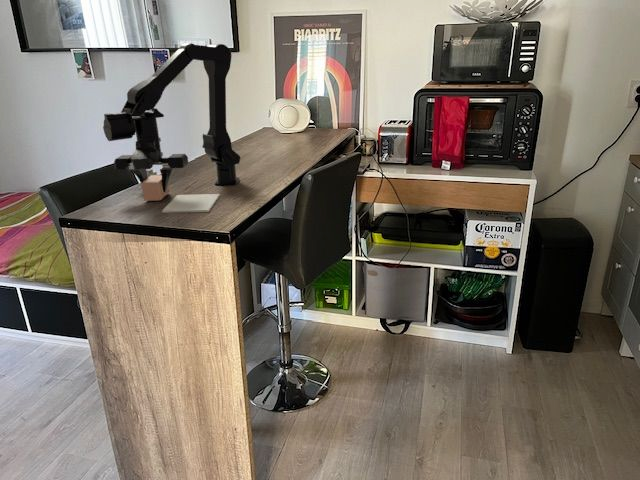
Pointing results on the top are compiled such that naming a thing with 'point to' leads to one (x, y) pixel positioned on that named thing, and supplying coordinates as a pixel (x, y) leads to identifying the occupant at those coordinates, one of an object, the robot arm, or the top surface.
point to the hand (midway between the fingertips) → (156, 191)
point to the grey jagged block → (151, 172)
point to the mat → (191, 203)
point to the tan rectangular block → (153, 188)
